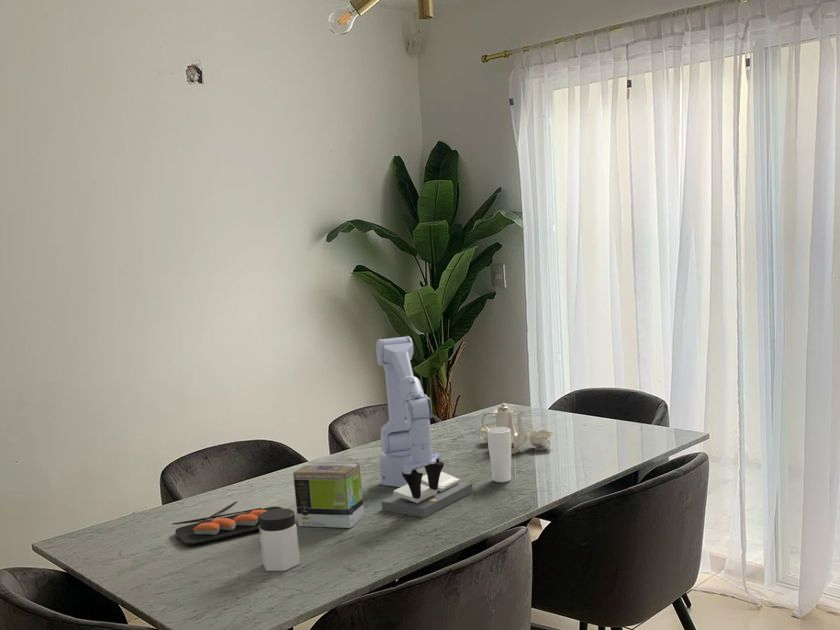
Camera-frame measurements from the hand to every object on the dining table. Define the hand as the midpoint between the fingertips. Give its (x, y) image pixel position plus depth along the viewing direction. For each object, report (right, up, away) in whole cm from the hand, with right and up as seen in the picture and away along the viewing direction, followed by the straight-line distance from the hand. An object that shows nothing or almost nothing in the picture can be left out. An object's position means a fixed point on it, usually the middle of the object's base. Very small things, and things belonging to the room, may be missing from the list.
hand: (425, 493), depth 230 cm
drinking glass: (+22, -1, +21) cm, 30 cm away
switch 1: (-3, 0, +2) cm, 3 cm away
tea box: (-25, -7, -4) cm, 26 cm away
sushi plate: (-53, -9, +3) cm, 54 cm away
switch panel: (+1, -4, +7) cm, 8 cm away
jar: (-33, -10, -31) cm, 46 cm away
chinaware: (+29, +3, +54) cm, 61 cm away
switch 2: (+4, +1, +11) cm, 12 cm away
